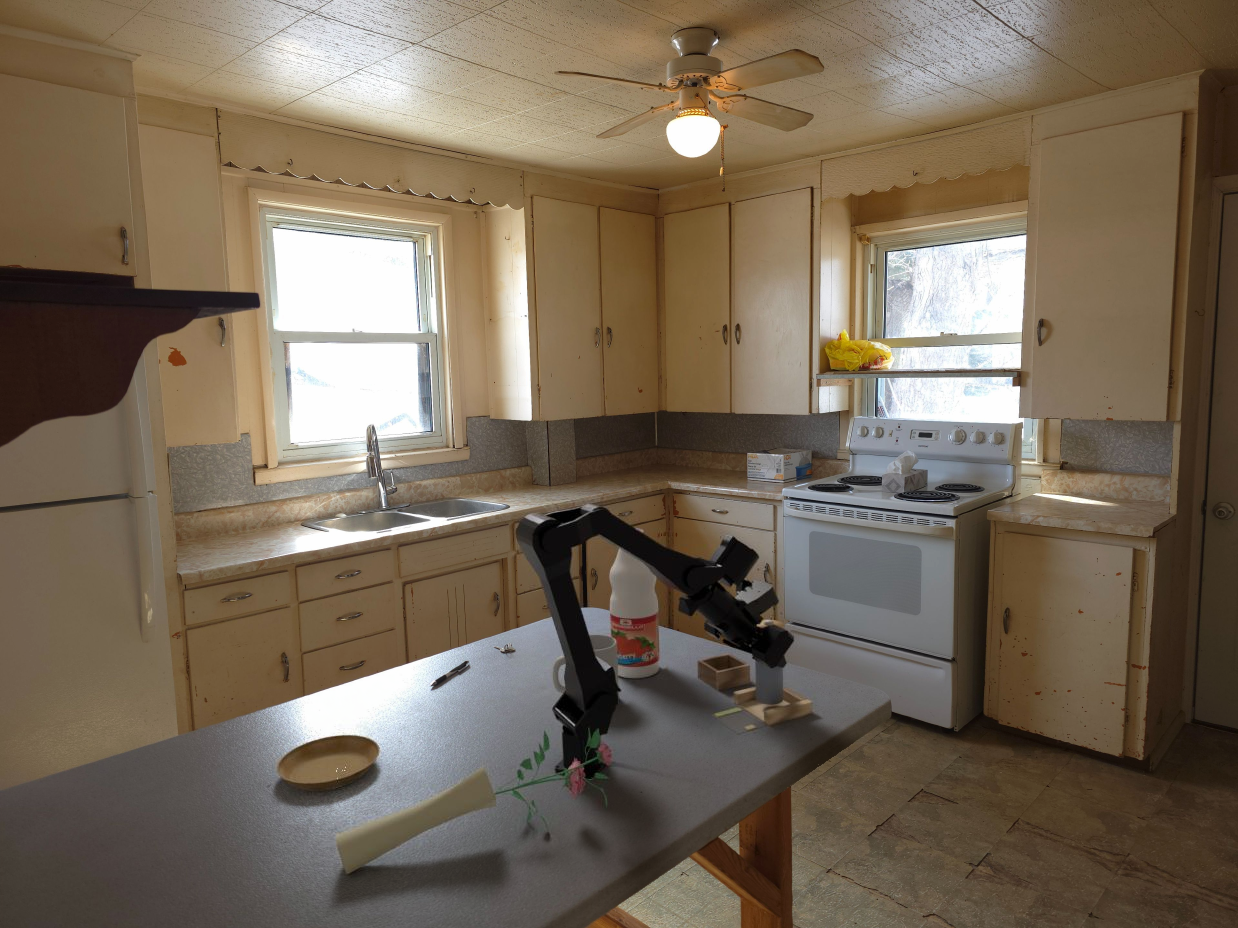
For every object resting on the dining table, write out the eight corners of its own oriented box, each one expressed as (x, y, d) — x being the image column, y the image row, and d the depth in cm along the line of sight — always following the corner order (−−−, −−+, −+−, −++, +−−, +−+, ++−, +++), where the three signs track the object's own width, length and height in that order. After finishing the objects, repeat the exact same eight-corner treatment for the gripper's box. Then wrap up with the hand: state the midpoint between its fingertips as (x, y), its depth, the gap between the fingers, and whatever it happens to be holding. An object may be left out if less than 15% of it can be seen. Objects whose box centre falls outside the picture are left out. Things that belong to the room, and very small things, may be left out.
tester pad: (737, 737, 128) (737, 732, 128) (710, 717, 135) (710, 713, 135) (767, 728, 131) (767, 724, 130) (739, 710, 138) (739, 706, 138)
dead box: (718, 693, 145) (717, 672, 144) (697, 680, 151) (697, 660, 151) (750, 685, 148) (749, 664, 147) (729, 673, 154) (728, 653, 154)
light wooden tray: (768, 728, 131) (768, 713, 130) (733, 706, 140) (733, 691, 139) (812, 716, 134) (812, 701, 134) (776, 695, 143) (775, 681, 143)
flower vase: (364, 906, 102) (610, 786, 114) (364, 942, 91) (637, 805, 103) (335, 817, 103) (581, 707, 115) (331, 841, 92) (605, 716, 103)
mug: (609, 688, 149) (607, 631, 148) (626, 705, 141) (624, 645, 140) (547, 700, 145) (544, 641, 143) (561, 719, 137) (559, 657, 136)
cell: (779, 706, 133) (778, 626, 132) (752, 702, 135) (751, 623, 134) (786, 695, 137) (785, 618, 136) (759, 691, 139) (759, 615, 138)
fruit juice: (667, 665, 159) (663, 527, 156) (647, 682, 151) (642, 537, 147) (625, 658, 164) (620, 524, 160) (603, 675, 155) (598, 533, 152)
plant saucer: (399, 754, 127) (398, 739, 126) (343, 804, 113) (342, 787, 112) (319, 745, 131) (317, 730, 130) (255, 793, 117) (254, 776, 116)
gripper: (783, 582, 123) (839, 638, 130) (717, 557, 140) (769, 608, 146) (742, 640, 121) (800, 694, 127) (679, 608, 138) (734, 657, 144)
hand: (775, 660), depth 136 cm, fingers closed on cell, 5 cm apart
